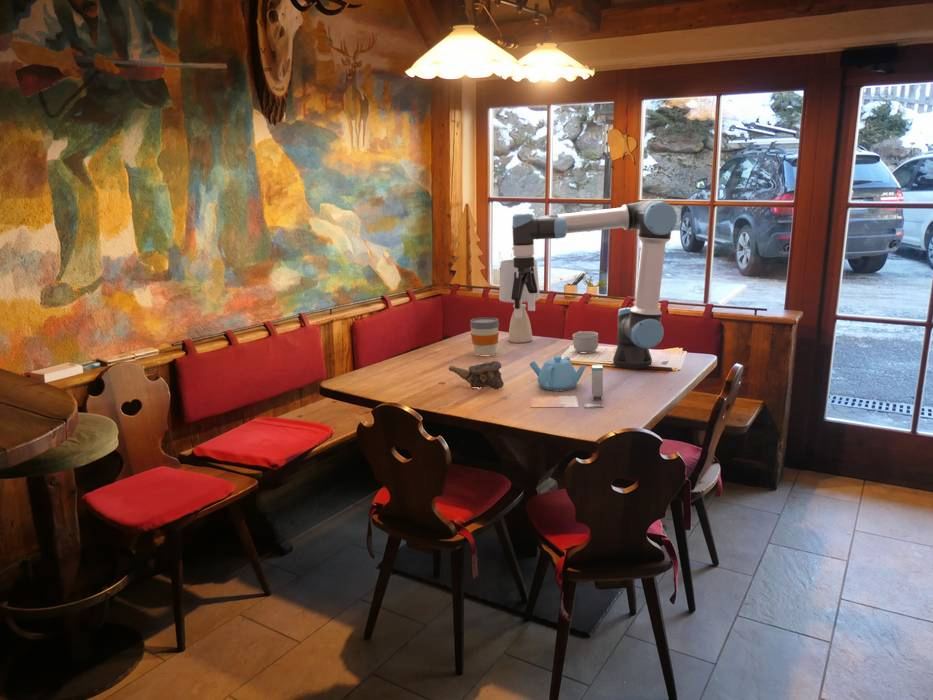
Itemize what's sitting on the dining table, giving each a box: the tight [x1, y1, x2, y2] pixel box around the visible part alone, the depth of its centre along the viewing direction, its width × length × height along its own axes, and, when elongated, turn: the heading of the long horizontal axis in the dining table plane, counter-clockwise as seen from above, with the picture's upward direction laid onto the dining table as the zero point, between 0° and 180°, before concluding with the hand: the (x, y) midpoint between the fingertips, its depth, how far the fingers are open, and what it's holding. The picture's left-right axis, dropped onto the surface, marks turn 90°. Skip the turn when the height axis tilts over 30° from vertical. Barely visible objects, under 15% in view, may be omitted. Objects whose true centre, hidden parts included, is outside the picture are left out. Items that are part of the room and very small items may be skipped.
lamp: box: [498, 259, 541, 344], centre depth 350 cm, size 19×19×37 cm
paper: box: [558, 395, 579, 408], centre depth 259 cm, size 16×12×1 cm
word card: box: [583, 402, 604, 409], centre depth 253 cm, size 6×4×1 cm, turn 86°
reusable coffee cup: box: [469, 317, 500, 356], centre depth 329 cm, size 13×13×15 cm
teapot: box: [529, 355, 587, 392], centre depth 277 cm, size 15×17×11 cm
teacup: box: [572, 330, 599, 353], centre depth 328 cm, size 14×11×8 cm
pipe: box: [448, 360, 504, 390], centre depth 280 cm, size 9×22×10 cm, turn 73°
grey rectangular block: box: [591, 364, 604, 401], centre depth 259 cm, size 4×4×12 cm
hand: (525, 313), depth 281 cm, fingers open, 13 cm apart
